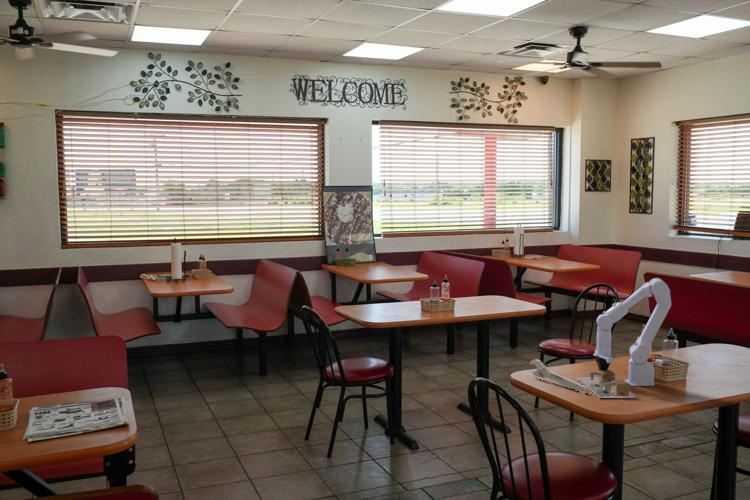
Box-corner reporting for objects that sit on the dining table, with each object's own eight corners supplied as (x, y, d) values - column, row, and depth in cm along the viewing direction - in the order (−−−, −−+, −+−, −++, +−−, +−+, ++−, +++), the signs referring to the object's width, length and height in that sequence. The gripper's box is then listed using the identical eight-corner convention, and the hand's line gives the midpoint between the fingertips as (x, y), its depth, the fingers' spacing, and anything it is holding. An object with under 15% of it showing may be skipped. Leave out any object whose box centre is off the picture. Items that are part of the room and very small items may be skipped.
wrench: (584, 402, 263) (528, 375, 287) (587, 401, 264) (531, 374, 288) (587, 382, 261) (530, 357, 286) (590, 381, 262) (533, 357, 287)
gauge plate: (609, 378, 283) (609, 367, 283) (635, 398, 257) (635, 385, 257) (576, 379, 283) (576, 367, 282) (599, 399, 257) (599, 386, 256)
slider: (610, 378, 278) (610, 370, 278) (614, 382, 273) (615, 373, 273) (585, 379, 278) (585, 370, 278) (590, 382, 273) (590, 373, 273)
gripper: (588, 339, 285) (587, 370, 287) (600, 347, 271) (599, 380, 272) (604, 339, 286) (603, 370, 287) (617, 347, 271) (617, 380, 273)
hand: (602, 375), depth 280 cm, fingers closed
